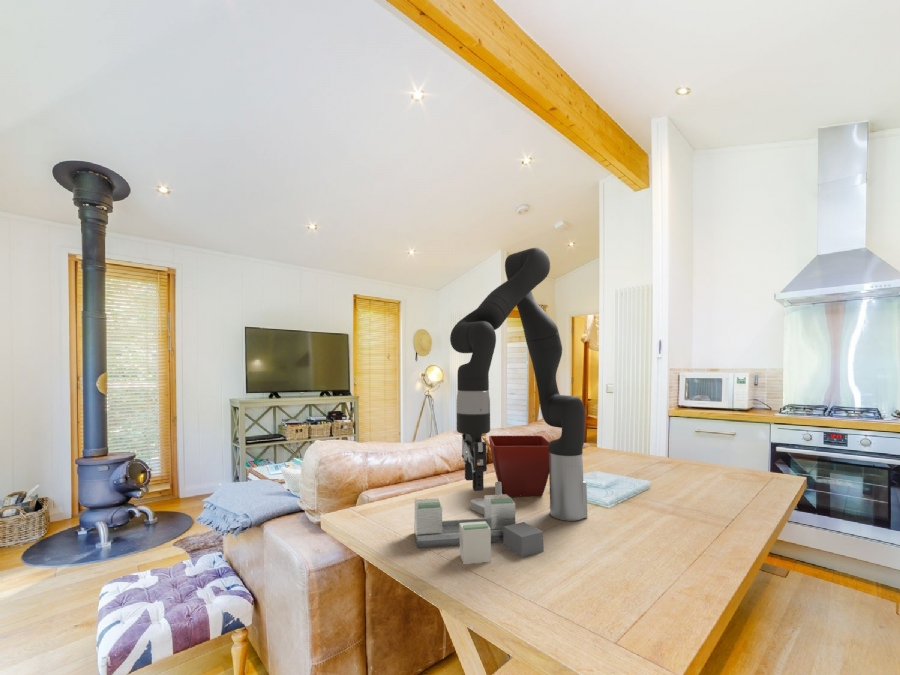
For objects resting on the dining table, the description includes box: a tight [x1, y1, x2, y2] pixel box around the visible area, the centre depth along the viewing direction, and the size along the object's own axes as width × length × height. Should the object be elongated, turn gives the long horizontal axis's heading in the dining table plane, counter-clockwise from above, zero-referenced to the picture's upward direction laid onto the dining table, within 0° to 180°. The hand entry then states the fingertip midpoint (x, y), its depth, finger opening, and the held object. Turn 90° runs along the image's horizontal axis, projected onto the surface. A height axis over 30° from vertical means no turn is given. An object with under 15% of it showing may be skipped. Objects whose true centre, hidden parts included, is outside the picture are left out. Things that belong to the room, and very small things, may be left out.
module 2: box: [503, 521, 545, 558], centre depth 97 cm, size 6×7×4 cm
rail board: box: [413, 494, 516, 549], centre depth 104 cm, size 24×9×9 cm, turn 99°
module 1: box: [459, 521, 492, 565], centre depth 92 cm, size 6×4×7 cm
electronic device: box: [470, 481, 502, 517], centre depth 121 cm, size 5×10×15 cm
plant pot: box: [488, 435, 551, 498], centre depth 141 cm, size 19×19×17 cm
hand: (473, 484), depth 93 cm, fingers open, 8 cm apart
